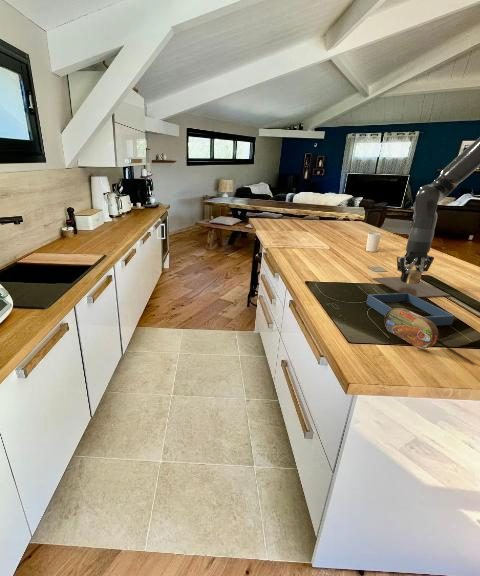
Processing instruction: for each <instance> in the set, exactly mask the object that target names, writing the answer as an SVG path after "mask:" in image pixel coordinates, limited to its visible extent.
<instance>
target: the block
mask: <svg viewBox="0 0 480 576" xmlns="http://www.w3.org/2000/svg"><path fill="white" fill-rule="evenodd" d="M422 274H423V273H422V272H419V271H417V270H416V269H414V268H412V269H410V271H409V273H408V277H407V281H406V282H405V283H407V284H419V282H421V279H422Z"/></svg>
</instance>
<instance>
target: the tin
mask: <svg viewBox="0 0 480 576" xmlns="http://www.w3.org/2000/svg"><path fill="white" fill-rule="evenodd" d="M424 317H425V316H422V315H420V314H418V313H415V312H414V311H411V310H410V309H407V308H403V307H393V308H392V309H390V310H389V311H388V312H387V313H386V315H385V316H384V326H385V328H386V330H387V332H389V333H391V334H393V335H395V336H397V337H398V338H400V339H402V340H404V341H405V342H407V343H408V344H410V345H411V346H413V347H415V348H416V349H417V350H422V349H427V348H431V347H434V346H435V345H436V343H437V342H438V339H439V329H438V326H436V325H435V324H434V323H433V322H432V321H431V320H429V319H427V318H424Z"/></svg>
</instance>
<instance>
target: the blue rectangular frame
mask: <svg viewBox="0 0 480 576" xmlns="http://www.w3.org/2000/svg"><path fill="white" fill-rule="evenodd" d="M393 302H394V303H395V302H407V303H409V304H411V305H413V306H415V307H417V308H418V309H420V310H422V311H423V312H426V313H427V314H429V315H430V316H429V315H428V316H423V317H424V318H427V319H429V320H431V321H432V322H433V323H434V324H435V325H436V327H438V326H452V325H453V324H454V323H453V322H454V320H455V315H454V314H453V313H450V312H448V311H446V310H444V309H442V308H440V307H438V306H436V305H434V304H432V303H430V302H427V301H426V300H424V299H423V298H418V297H416V296H414V295H412V294H410V293H398V292H395V293H394V292H393V293H378V294H377V293H376V294H375V293H374V294H367V298H366V303H365V304H366V305H367V306H368V307H370V308H372V309H373V310H375V311H376V312H378V313H379V314H381V315H382V316H384V317H385V315H386V313H387V312H388V311H389V310H390V309H393V308H392V307H391V306H389V305H387V304H386V303H393Z"/></svg>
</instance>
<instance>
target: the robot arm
mask: <svg viewBox="0 0 480 576" xmlns="http://www.w3.org/2000/svg"><path fill="white" fill-rule="evenodd" d="M479 167H480V136H479V137H478V138H477V139H475V141H474V142H472V143H471V144H470V145H469V146H467V147H466V148H465V149H464V150H463V151H462V152H461V153H460V154H458V155H457V156H456V157H455V158H454V159H453V160H452V161H450V163H449V164H447V165H446V166H445V167H444V168H443V170H442V171H441V172H440V175H439V176H438V177H437V178H436V179H434V181H433V182H431V183H429V184H425V185H423V186H421V187H420V188H419V190H418V191H417V193H416V195H415V201H414V217H413V220H412V225H411V228H410V231H409V233H408V238H407V241H406V247H405V251H406V252H405V254H404V255H403V256H397V257H396V269H397V271H399V272H400V273H401V275H400V277H401V278H400V280H401V281H402V282H406V281H407V277H408V273H409V271H410V269H414V268H413V267H415V270H417V271H419V272H422V274H424V272H428V271H429V269H430V267H431V266H432V264H433V262H434V260H435V257H434V256H431V255H428V253H430V251H431V247H432V244H433V240H434V236H435V229H436V225H437V220H438V212H437V208H438V204H439V203H440V202H442V201H443V200H444V199H446V197H448V196H449V194H451V193H452V192H453V191H454V189H456V188H457V187H458V185H459V184H461V182H463V181H464V180H466V179H467V178H468V177H469V176H470V175H471V174H473V173H474V172H475V171H477V169H478V168H479Z"/></svg>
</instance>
